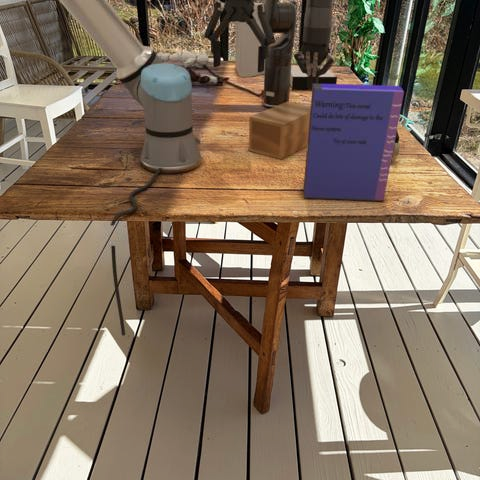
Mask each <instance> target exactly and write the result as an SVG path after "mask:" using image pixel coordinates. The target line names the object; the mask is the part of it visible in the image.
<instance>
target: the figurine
mask: <svg viewBox="0 0 480 480" xmlns="http://www.w3.org/2000/svg"><path fill="white" fill-rule="evenodd" d="M174 65H175V66H177V65H178V66H181V67H183V68H185V69H186V70H187V71H188V72H189V74H190V79H191V83H192V84H194V83H199V84H200V85H206V84H212V85H215V86H217V85H222V86H223V84H224V83H226V82H225V81H228V82H229V80H230V77H229V76H219V75H218V74H216V75H217V76H215V75H214V76H211V75H208V74H204V75H202V74H201V73H200V72H199V73H197V72H196V71H195V69H194V68H192V67H190V68H188V67H187V68H186V67H185V66H184V65H180V64H174ZM218 76H219V77H218Z"/></svg>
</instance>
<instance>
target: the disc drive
mask: <svg viewBox="0 0 480 480" xmlns="http://www.w3.org/2000/svg"><path fill="white" fill-rule="evenodd" d="M323 66H324V65H322V67H323ZM322 67H321V68H322ZM307 79H308V76H307V74H305V73H302V71H301V69H300V67H299V66H298V65H292V66H291V81H290V88H291V90H292V91H295V90H297V91H298V90H300V91H303V90H305V91H309V90H308V87H307ZM337 82H338V76H336V75H335V74H334V73H333V72H332V71H331V69H329V70H328V71H327V72H326V73H325V74H324V75H321V76H319V80H318V84H338V83H337Z"/></svg>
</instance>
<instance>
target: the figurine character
mask: <svg viewBox="0 0 480 480" xmlns="http://www.w3.org/2000/svg"><path fill="white" fill-rule="evenodd" d="M399 141H400V135H399V131H397V132H396V137H395V142H394V148H393V153H392V157H398V155H399V153H400V152H399V151H400V142H399Z"/></svg>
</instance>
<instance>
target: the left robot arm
mask: <svg viewBox="0 0 480 480" xmlns="http://www.w3.org/2000/svg"><path fill="white" fill-rule="evenodd" d="M58 1H59V2H60V3H61V5H62V6H63V7H64V8H65V9H66V11H68V13H69V14H70V15H71V16H72V17H73V19H74V20H75V21H76V22H77V23H78V24H79V26H80V27H81V28H82V29H83V30H84V31H85V33H86V34H87V35H88V36H89V37H90V39H92V41H93V42H94V43H95V45H97V47H98V48H99V49H100V50H101V52H103V54H105V56H106V57H107V59H109V61H110V62H111V63H112V64H113V66H114V67H115V68H116V79H118V81H119V82H120V83H121V84H122V85H123V86H124V87H125V89H126V90H127V91H128V92H129V94H130V95H131V97H132V98H133V99H134V100H135V101H136V102H137V103H138V104H139V105H140V106H141V107H142V108H143V115H144V125H145V138H144V142H143V146H142V150H141V154H140V162H141V166H142V168H144V169H145V170H146V171H149V172H151V173H153V175H152V177H151V179H150V180H149V181H148V182H147V183H146V184H145V185H143V186H140V187H138V188H136V189H134V190H133V191H132V192H130V193H129V195H128V196H129V197H128V198H129V201H130V203H131V204H132V205H133V207H132V208H130V209H127V210H122V211H120V212H117V213H116V215H115V216H114V217H113V218H112V220H111V222H110V226H111V227H113V226H115V225H116V222H117V221H118V219H119V218H121V217H122V216H125V215H128V214H133V213H134V212H135V211H136V210H137V208H138V203H137V202H136V200H135V199H134V196H135V195H136V194H138V193H140V192H142V191H144V190H146V189H148V188H149V187H150V186H151V185H152V184H153V183H154V181H155V180H156V178H157V177H158V175H159V174H163V175H164V174H165V175H169V174H170V175H172V174H173V175H175V174H182V173H187V172H190V171H193V170H195V169H197V168H198V167H199V166H201V163H202V154H201V151H200V149H199V146H198V145H201V140H200V139H199V138H197V137H196V136H195V135H194V130H193V129H194V126H193V101H192V100H193V99H192V98H193V97H192V89H193V85H192V84H193V83H191V79H190V74H189V72H188V71H187V70H186V69H185V68H186V67H185V68H183V67H184V66H183V67H181V66H182V65H180V66H178V65H179V64H173V63H167V62H164V63H163V62H162V60H161V59H160V58H159V56H158V55H157V53H156V51H155V50H154V49H153V48H152V46H147V45H143V44H142V43H141V42H140V40H139V39H138V38H137V36H135V34H134V33H133V32H132V29H130V28H129V26H128V25H127V23H126V22H125V21H124V20H123V19H122V18H121V16H120V15H119V14H118V13H117V11H116V10H115V8H114V7H113V5H111V3H110V2H109V1H108V0H58ZM254 3H255V0H225V2H223V1H222V0H218V1H215V2H214V3H213V11H212V14H211V17H210V18H209V22H208V24H207V26H206V30H205V32H204V35H203V37H204V38H205V39H207V40H209V41H210V53H211V55H212V54H213V58H212V59H213V63H212V64H213V68H217V67H218V66H219V67H220V66H221V40H219V38H220V37H221V36H222V35H223V33H224V32H225V30H226V29H227V27H228V26H229V25H230V24H231V22H234V23H236V21H238V22H246V23H247V24H248V25H249V26H250V28H251V30H252V31H253V33H254V34H255V36H256V37H257V39H258V41H259V42H260V44H261V46H259V47H258V72H259V73H260V72H263V71H264V62H265V59H267V57H268V46H269V45H271V44H273V43H275V41H276V38H275V34H274V33H273V32H272V29H271V27H270V24H269V21H268V18H267V15H266V8H265V4H260V5H254ZM223 11H225V12H226V14H225V15H224V17H223V18H222V20H221V22H220V23H219V20H220V18H221V15H222V14H223V13H222V12H223ZM254 11H256V13H257V14H258V17H259V20H260V23H261V26H262V28H263V31H264V33H263V32H262V30H261V29H260V27H259V25H258V24H257V22H256V19H255V18H254V16H253V15H252V14H253V12H254ZM218 23H219V25H218ZM264 34H265V35H264ZM175 65H177V66H175ZM110 247H111V248H110V251H111V266H112V277H113V286H114V293H115V297H116V298H115V299H116V304H117V305H116V306H117V311H118V318H119V324H120V332H121V336H123V337H124V336H126V329H125V322H124V314H123V308H122V302H121V295H120V288H119V280H118V270H117V257H116V245H110Z"/></svg>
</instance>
